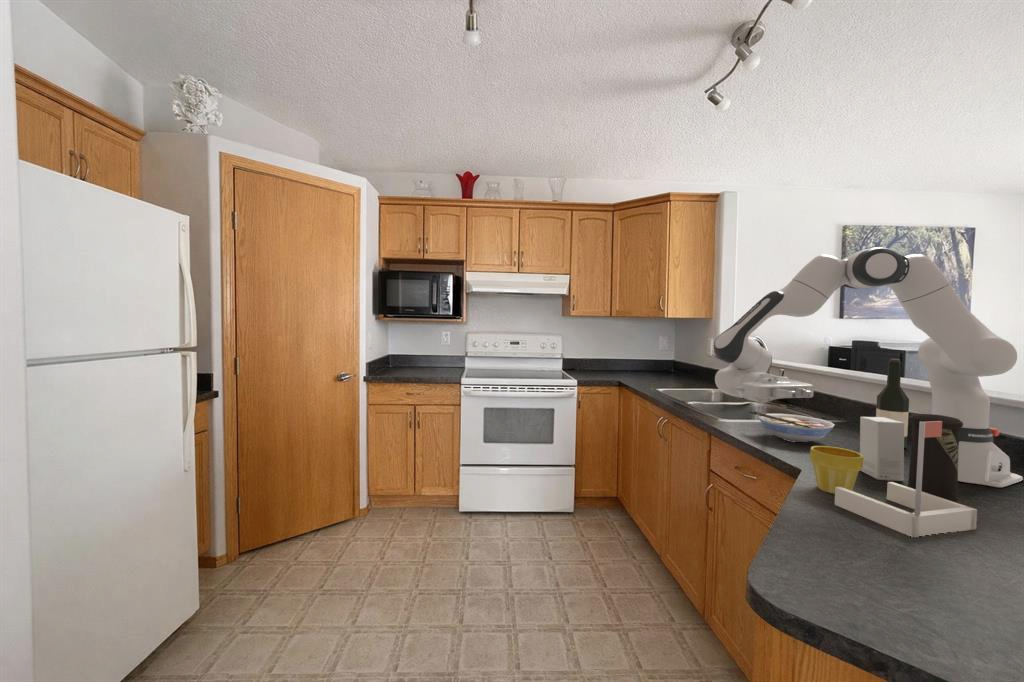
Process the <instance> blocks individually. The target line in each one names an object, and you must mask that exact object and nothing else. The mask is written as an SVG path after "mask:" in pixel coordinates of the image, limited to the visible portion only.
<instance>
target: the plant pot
mask: <svg viewBox="0 0 1024 682" xmlns="http://www.w3.org/2000/svg"><path fill="white" fill-rule="evenodd" d="M809 451H810V452H809V457H810V459H809V461H810V462H811V463H812V464H813V469H814V475H815V480H816V486H817V488H818V489H819V490H821V491H822V492H825V493H829V494H832V495H835V487H843V488H846V489H848V490H851V491H853V489H854V486H855V483H856V480H857V477H858V474H859V472H861V471H860V470H862V467H863V455H862V454H860V452H858V451H855V450H851V449H847V448H841V447H836V446H831V445H830V446H829V445H813V446H811V447H810V450H809Z"/></svg>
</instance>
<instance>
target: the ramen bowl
mask: <svg viewBox="0 0 1024 682" xmlns="http://www.w3.org/2000/svg"><path fill="white" fill-rule="evenodd" d="M748 413H749V414H753V415H756V416H757V417H758V419H759V421H760V422H761V424H762V425H763V427H764V428H765V429H766V431H767V432H769V433H770V434H772V435H774V436H776V437H777V438H780V439H781V438H782V439H781V440H783V439H786V440H790V441H795V442H806V443H807V442H812V441H817V440H821V439H822V438H824V437H825V436H827V435H828V434H829V433H830V432H831V431H832V430H833V428H834V426H835V425H836V424H834V423H833V422H831V421H828V420H825V419H821V418H817V417H811V416H805V415H804V416H803V415H799V414H788V413H762V412H758V411H755V410H753V411H748Z"/></svg>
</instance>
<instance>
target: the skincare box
mask: <svg viewBox="0 0 1024 682" xmlns="http://www.w3.org/2000/svg"><path fill="white" fill-rule="evenodd" d="M859 418H860V420H859V423H860V424H859V453H860V454H862V455H863V467H862V470H860V471H859V472H863V474H866V475H868V476H870V477H872V478H874V479H876V480H879V481H888V482H904V480H905V478H904V477H905V474H904V472H905V468H904V467H905V449H904V424H905V423H903V422H899V421H895V420H892V419H888V418H885V417H876V416H860V417H859Z"/></svg>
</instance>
